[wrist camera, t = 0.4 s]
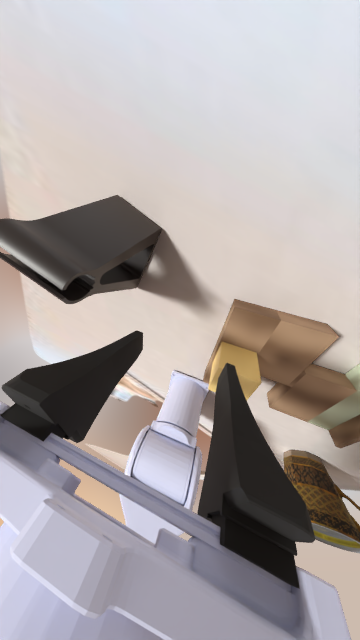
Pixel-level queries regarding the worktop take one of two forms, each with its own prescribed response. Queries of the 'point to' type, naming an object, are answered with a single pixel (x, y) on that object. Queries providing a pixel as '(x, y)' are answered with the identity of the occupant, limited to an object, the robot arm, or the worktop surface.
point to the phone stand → (82, 248)
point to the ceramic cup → (322, 501)
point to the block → (237, 367)
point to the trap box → (296, 368)
